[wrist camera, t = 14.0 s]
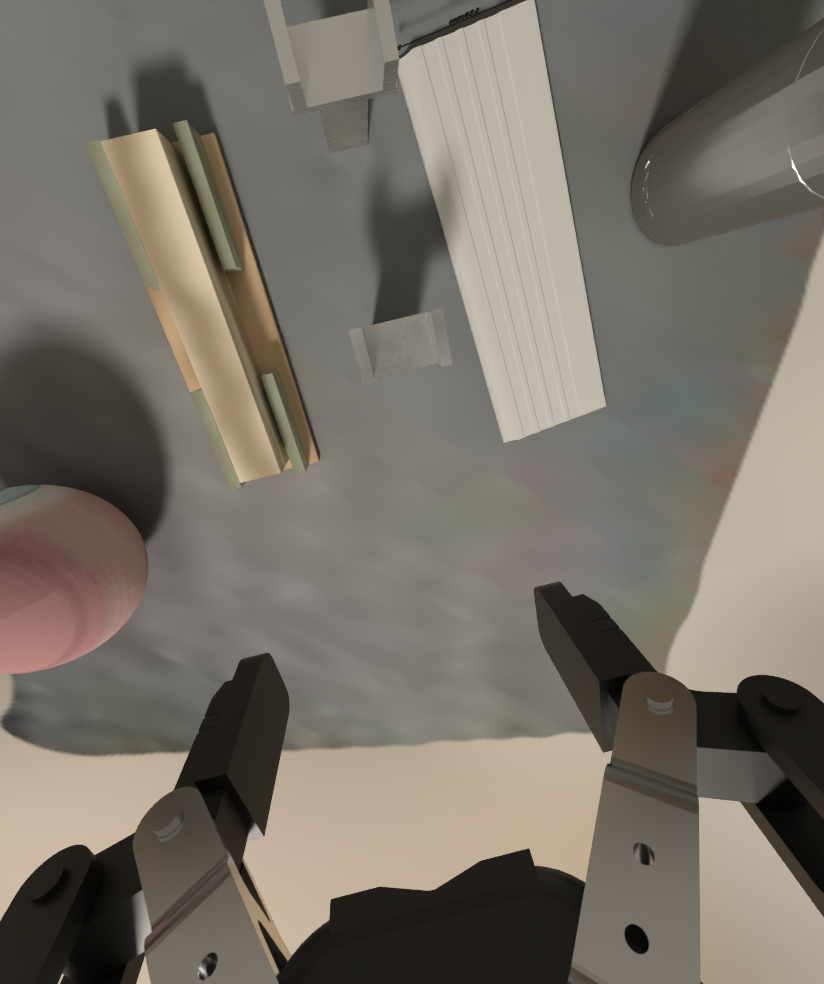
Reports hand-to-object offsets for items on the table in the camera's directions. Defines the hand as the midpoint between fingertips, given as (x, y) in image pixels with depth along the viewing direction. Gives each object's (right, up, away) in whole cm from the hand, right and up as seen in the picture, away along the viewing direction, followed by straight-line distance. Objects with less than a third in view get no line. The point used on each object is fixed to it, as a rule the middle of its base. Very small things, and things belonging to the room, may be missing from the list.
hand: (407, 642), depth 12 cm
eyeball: (-31, 0, +29) cm, 43 cm away
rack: (-16, +18, +24) cm, 34 cm away
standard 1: (-5, +32, +19) cm, 38 cm away
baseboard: (+8, +25, +25) cm, 36 cm away
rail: (-16, +18, +23) cm, 33 cm away
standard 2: (-2, +18, +25) cm, 31 cm away
